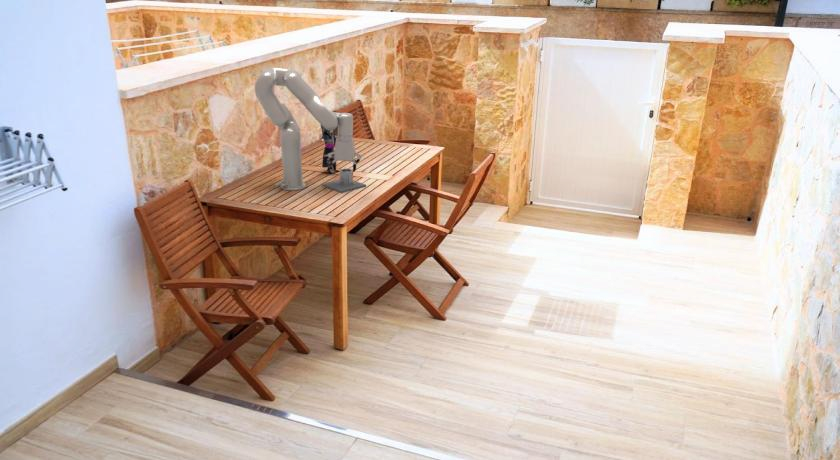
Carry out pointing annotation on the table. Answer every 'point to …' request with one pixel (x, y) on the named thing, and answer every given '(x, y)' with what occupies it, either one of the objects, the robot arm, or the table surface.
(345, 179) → the duct sleeve
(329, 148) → the figurine
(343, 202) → the table surface
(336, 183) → the flange
